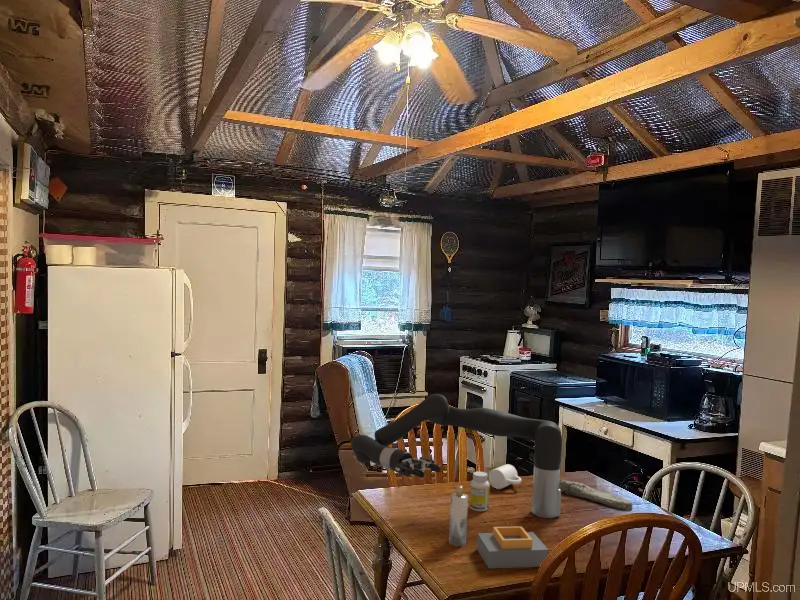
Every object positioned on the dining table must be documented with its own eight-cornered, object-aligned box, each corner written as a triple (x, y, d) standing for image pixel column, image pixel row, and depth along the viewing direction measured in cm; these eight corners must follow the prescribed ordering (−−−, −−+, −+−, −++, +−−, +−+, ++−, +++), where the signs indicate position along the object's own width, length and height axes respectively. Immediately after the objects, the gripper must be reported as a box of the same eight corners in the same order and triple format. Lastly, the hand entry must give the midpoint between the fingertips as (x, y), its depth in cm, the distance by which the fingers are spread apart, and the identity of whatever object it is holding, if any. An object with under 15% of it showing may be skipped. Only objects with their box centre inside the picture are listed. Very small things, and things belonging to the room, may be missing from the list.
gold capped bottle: (463, 538, 185) (465, 483, 184) (467, 546, 179) (470, 489, 179) (447, 538, 184) (449, 483, 183) (451, 546, 179) (453, 489, 178)
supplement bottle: (479, 503, 215) (481, 469, 215) (492, 509, 210) (494, 475, 209) (465, 506, 211) (466, 472, 211) (478, 513, 206) (479, 478, 205)
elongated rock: (625, 517, 212) (635, 511, 219) (627, 503, 212) (637, 498, 219) (541, 486, 236) (553, 482, 243) (542, 474, 235) (554, 470, 243)
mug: (487, 486, 234) (488, 467, 234) (500, 480, 242) (501, 462, 241) (513, 494, 226) (514, 474, 226) (526, 488, 234) (526, 469, 233)
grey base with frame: (530, 545, 182) (531, 522, 181) (547, 566, 168) (548, 541, 168) (475, 546, 179) (476, 523, 179) (488, 568, 166) (489, 542, 165)
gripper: (382, 453, 194) (418, 465, 183) (409, 445, 205) (445, 456, 194) (381, 474, 194) (417, 488, 183) (408, 466, 205) (444, 478, 194)
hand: (432, 471), depth 189 cm, fingers open, 8 cm apart
